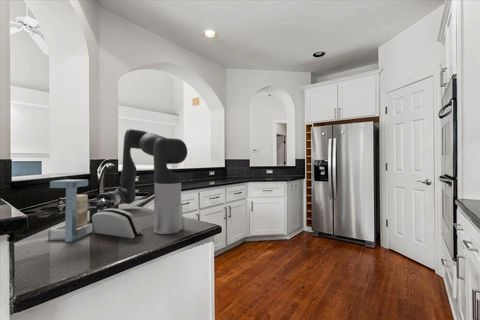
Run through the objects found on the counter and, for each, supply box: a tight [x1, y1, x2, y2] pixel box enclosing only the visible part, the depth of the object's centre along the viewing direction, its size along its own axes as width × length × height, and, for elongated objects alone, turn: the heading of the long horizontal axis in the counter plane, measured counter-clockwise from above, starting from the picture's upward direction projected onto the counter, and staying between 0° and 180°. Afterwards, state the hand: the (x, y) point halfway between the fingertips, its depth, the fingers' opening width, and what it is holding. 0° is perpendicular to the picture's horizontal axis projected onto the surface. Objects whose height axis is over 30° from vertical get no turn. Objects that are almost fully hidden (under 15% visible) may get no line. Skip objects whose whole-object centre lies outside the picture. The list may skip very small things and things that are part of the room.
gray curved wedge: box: [91, 208, 143, 239], centre depth 82 cm, size 17×5×10 cm, turn 70°
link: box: [76, 194, 89, 229], centre depth 90 cm, size 4×4×12 cm
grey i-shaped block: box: [47, 179, 93, 243], centre depth 79 cm, size 9×11×18 cm
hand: (86, 206), depth 94 cm, fingers open, 8 cm apart
